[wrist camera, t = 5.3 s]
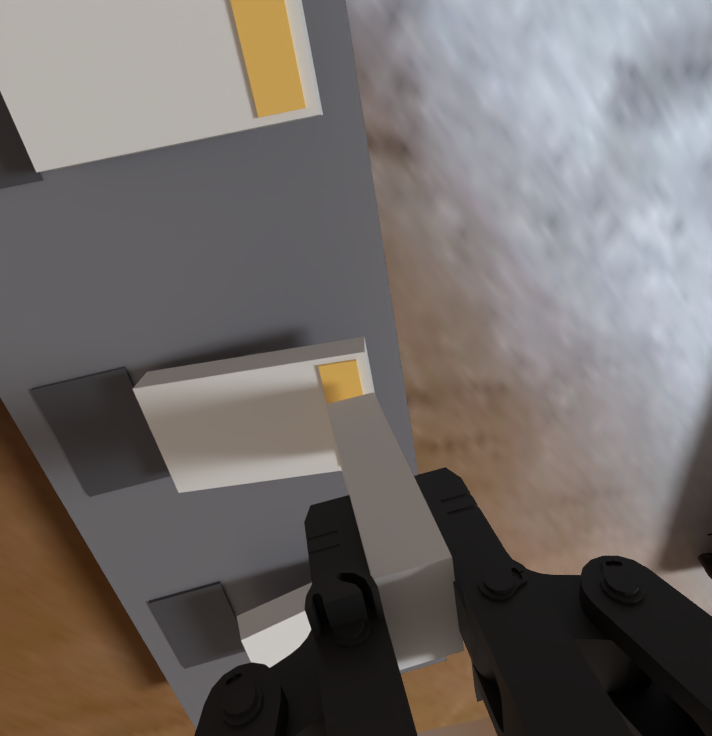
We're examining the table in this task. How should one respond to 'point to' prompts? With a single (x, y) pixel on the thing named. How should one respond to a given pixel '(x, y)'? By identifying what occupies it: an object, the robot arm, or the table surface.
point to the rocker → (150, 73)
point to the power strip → (191, 344)
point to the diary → (706, 562)
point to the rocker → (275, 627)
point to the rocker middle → (252, 413)
